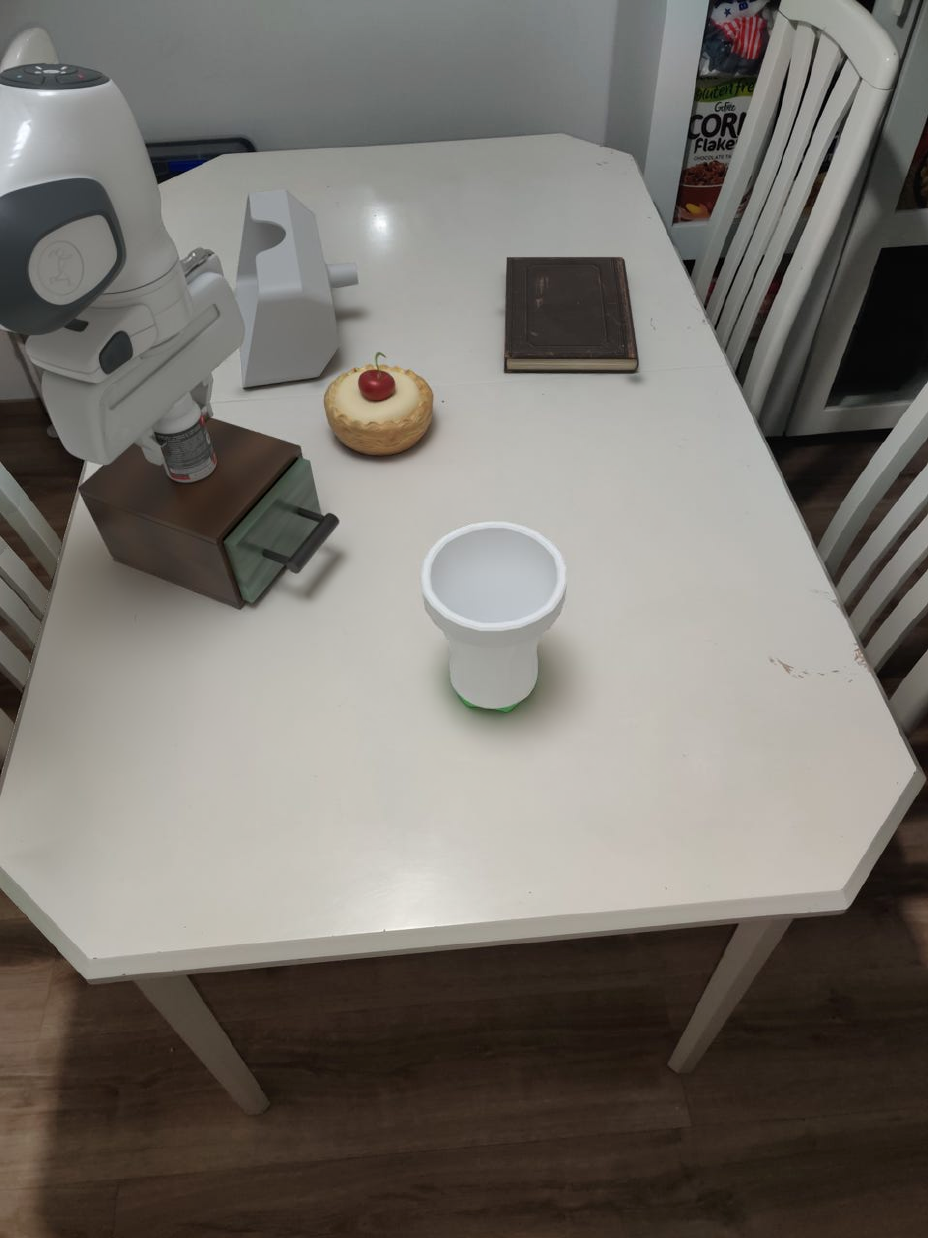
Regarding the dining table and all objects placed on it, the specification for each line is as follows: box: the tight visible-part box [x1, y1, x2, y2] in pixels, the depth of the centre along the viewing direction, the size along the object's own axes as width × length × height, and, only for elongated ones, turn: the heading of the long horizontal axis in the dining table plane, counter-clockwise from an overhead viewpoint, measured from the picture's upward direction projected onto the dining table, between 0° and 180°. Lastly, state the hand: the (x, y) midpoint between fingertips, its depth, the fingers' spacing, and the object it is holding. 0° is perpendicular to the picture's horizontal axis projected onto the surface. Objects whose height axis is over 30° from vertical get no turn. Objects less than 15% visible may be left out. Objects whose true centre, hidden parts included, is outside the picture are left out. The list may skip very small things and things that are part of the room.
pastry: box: [323, 351, 434, 456], centre depth 95 cm, size 12×12×9 cm
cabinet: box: [77, 417, 304, 610], centre depth 85 cm, size 16×14×10 cm
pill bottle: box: [151, 392, 217, 483], centre depth 78 cm, size 5×5×8 cm
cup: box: [419, 521, 568, 713], centre depth 71 cm, size 11×11×14 cm
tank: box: [235, 188, 359, 389], centre depth 107 cm, size 25×16×12 cm, turn 12°
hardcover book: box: [503, 256, 640, 374], centre depth 111 cm, size 16×23×2 cm
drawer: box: [222, 457, 340, 604], centre depth 84 cm, size 19×12×8 cm, turn 64°
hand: (181, 439), depth 78 cm, fingers closed on pill bottle, 5 cm apart
